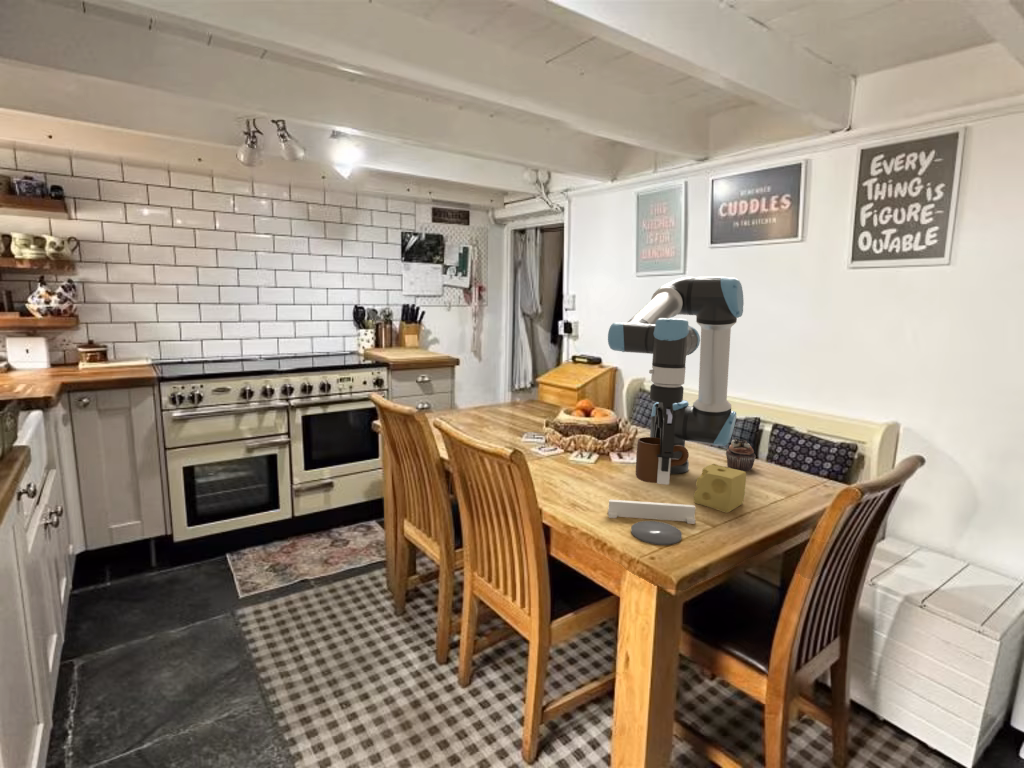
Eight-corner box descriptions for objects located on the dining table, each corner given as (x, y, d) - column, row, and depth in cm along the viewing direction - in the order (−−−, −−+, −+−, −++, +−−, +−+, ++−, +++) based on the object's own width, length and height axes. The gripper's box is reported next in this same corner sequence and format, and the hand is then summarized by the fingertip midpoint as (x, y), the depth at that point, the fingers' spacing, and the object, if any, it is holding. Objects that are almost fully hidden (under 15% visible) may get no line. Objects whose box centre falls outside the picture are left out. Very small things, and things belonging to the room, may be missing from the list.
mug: (688, 479, 132) (691, 441, 130) (684, 488, 125) (687, 449, 124) (638, 471, 137) (640, 435, 135) (632, 480, 130) (634, 442, 128)
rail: (607, 511, 147) (608, 497, 146) (691, 517, 144) (693, 503, 144) (608, 517, 143) (609, 503, 142) (695, 523, 140) (696, 509, 140)
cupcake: (758, 472, 184) (761, 444, 183) (728, 470, 186) (730, 442, 184) (750, 464, 194) (753, 437, 192) (721, 462, 195) (724, 435, 193)
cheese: (693, 503, 155) (695, 469, 153) (710, 494, 162) (713, 462, 161) (728, 514, 148) (732, 479, 146) (745, 504, 155) (748, 470, 154)
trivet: (628, 522, 140) (629, 519, 140) (676, 525, 139) (676, 522, 139) (633, 542, 129) (634, 539, 128) (686, 546, 127) (686, 543, 127)
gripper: (645, 377, 138) (639, 464, 142) (657, 390, 118) (649, 491, 122) (675, 378, 137) (669, 466, 141) (692, 392, 117) (684, 493, 121)
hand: (660, 477), depth 131 cm, fingers closed on mug, 7 cm apart
